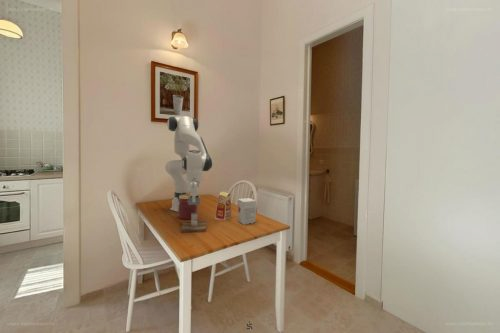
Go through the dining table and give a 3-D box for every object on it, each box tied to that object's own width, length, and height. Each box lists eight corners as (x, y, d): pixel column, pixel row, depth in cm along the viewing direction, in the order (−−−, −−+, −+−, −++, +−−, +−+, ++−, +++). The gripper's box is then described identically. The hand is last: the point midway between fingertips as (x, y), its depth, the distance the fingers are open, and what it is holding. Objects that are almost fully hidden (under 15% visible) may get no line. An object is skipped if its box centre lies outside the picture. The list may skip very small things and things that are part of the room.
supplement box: (237, 220, 146) (237, 198, 145) (249, 219, 150) (249, 197, 149) (243, 225, 138) (243, 201, 137) (255, 223, 142) (256, 200, 141)
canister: (194, 220, 146) (194, 194, 145) (175, 219, 147) (175, 193, 145) (199, 214, 159) (199, 190, 158) (181, 214, 160) (181, 190, 158)
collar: (189, 202, 133) (189, 195, 133) (200, 202, 134) (200, 195, 134) (188, 204, 127) (188, 198, 126) (199, 204, 128) (199, 197, 128)
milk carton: (214, 219, 149) (215, 190, 148) (222, 215, 158) (222, 188, 156) (226, 221, 146) (226, 191, 144) (233, 217, 154) (233, 189, 152)
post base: (183, 224, 137) (183, 211, 137) (206, 223, 140) (206, 210, 139) (180, 232, 123) (180, 217, 123) (206, 231, 126) (206, 217, 125)
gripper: (199, 179, 120) (199, 204, 121) (200, 175, 140) (200, 197, 141) (187, 179, 119) (187, 204, 120) (190, 175, 139) (190, 197, 140)
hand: (194, 200), depth 130 cm, fingers closed on collar, 6 cm apart
